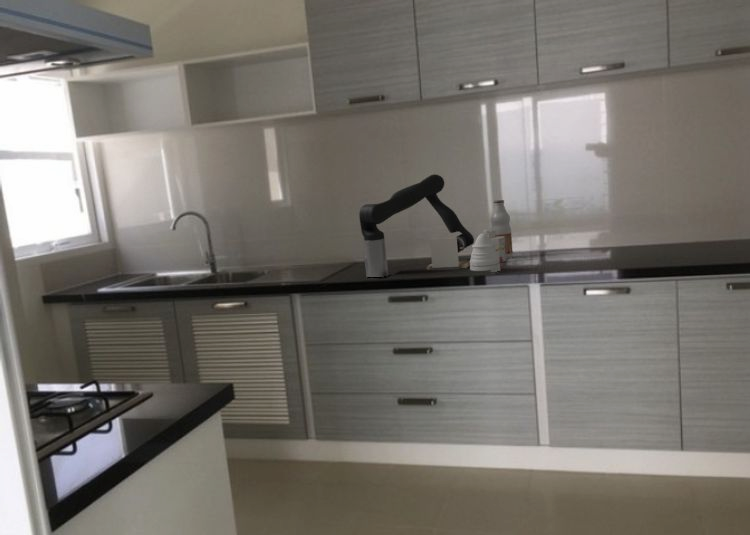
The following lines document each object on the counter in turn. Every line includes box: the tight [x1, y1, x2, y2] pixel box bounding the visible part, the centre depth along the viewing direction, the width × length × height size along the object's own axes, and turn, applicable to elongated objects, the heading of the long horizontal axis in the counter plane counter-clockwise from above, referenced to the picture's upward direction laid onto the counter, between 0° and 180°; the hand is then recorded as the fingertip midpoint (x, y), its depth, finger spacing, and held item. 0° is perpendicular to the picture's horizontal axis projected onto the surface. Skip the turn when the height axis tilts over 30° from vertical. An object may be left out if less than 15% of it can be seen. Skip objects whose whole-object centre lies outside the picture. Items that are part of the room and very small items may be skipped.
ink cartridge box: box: [488, 231, 507, 264], centre depth 304 cm, size 9×5×15 cm, turn 150°
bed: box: [426, 260, 470, 271], centre depth 296 cm, size 18×11×3 cm, turn 69°
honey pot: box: [469, 229, 501, 273], centre depth 281 cm, size 13×13×18 cm
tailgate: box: [429, 236, 460, 271], centre depth 289 cm, size 12×1×15 cm, turn 69°
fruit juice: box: [490, 199, 514, 260], centre depth 314 cm, size 9×9×28 cm
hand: (445, 250), depth 291 cm, fingers closed
